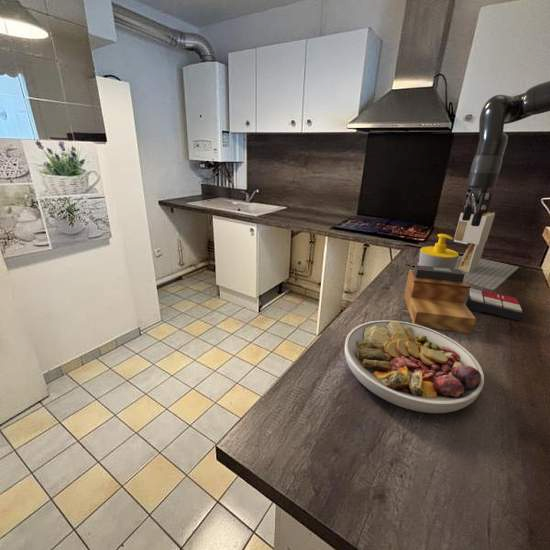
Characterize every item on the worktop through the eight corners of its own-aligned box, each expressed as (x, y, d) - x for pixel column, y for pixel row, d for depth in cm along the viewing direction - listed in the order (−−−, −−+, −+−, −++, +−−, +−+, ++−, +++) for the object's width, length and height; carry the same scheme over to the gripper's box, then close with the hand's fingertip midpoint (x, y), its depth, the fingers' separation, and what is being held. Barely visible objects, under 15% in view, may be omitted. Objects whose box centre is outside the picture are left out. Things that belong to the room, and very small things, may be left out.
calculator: (525, 311, 91) (469, 297, 98) (519, 323, 93) (465, 308, 99) (518, 297, 100) (468, 286, 106) (513, 308, 102) (464, 296, 108)
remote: (457, 276, 97) (460, 268, 96) (462, 282, 93) (464, 273, 92) (413, 272, 101) (414, 264, 99) (415, 277, 96) (417, 269, 95)
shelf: (451, 302, 104) (460, 274, 100) (472, 333, 86) (483, 300, 82) (403, 296, 108) (408, 269, 103) (412, 325, 90) (420, 293, 85)
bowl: (320, 373, 70) (322, 346, 67) (372, 323, 91) (376, 300, 88) (462, 452, 52) (474, 420, 49) (487, 366, 73) (496, 340, 70)
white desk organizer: (445, 266, 137) (461, 204, 126) (458, 259, 147) (474, 200, 136) (468, 272, 130) (487, 207, 119) (480, 264, 140) (499, 203, 129)
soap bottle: (437, 296, 108) (451, 241, 100) (406, 283, 118) (416, 233, 110) (455, 288, 115) (470, 236, 106) (424, 277, 125) (436, 228, 116)
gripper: (509, 172, 82) (492, 229, 88) (488, 170, 95) (474, 219, 101) (479, 172, 84) (464, 227, 90) (463, 169, 96) (451, 218, 103)
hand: (470, 223), depth 96 cm, fingers open, 8 cm apart
